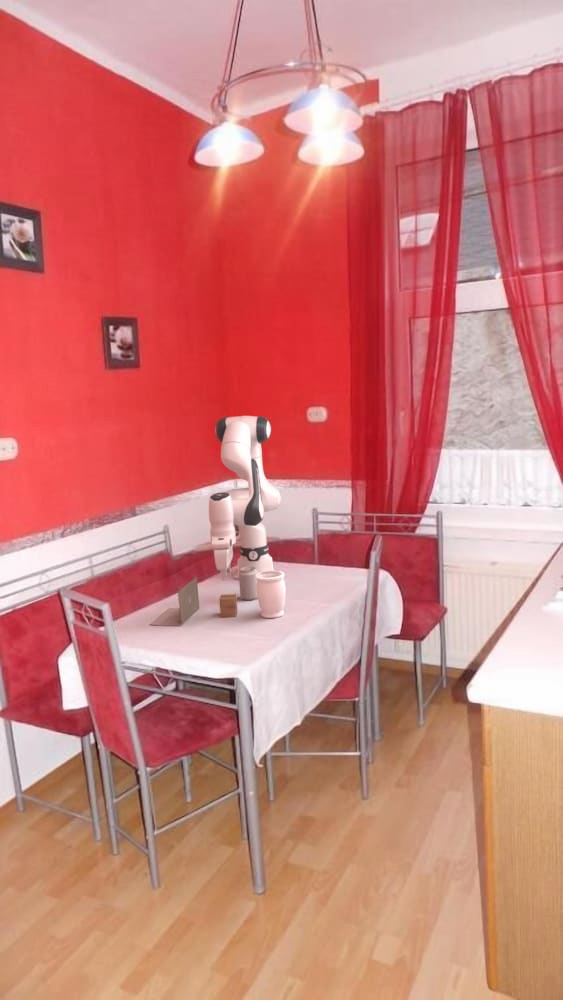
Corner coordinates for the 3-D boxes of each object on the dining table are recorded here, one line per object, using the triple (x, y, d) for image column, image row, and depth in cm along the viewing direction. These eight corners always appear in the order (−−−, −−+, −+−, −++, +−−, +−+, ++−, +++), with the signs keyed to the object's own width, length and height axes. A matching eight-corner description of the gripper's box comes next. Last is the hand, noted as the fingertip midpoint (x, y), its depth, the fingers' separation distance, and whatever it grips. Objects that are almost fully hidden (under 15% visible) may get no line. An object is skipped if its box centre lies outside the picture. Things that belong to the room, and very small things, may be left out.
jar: (284, 619, 251) (281, 578, 248) (255, 619, 253) (252, 578, 250) (289, 609, 261) (286, 570, 258) (261, 610, 263) (258, 570, 260)
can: (257, 601, 274) (255, 570, 272) (238, 601, 275) (236, 571, 273) (261, 595, 281) (259, 565, 279) (243, 595, 282) (241, 565, 280)
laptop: (169, 609, 271) (165, 576, 269) (200, 610, 268) (197, 576, 266) (149, 626, 254) (145, 590, 252) (182, 627, 251) (178, 591, 248)
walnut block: (222, 612, 262) (221, 594, 261) (237, 612, 262) (236, 593, 261) (220, 617, 257) (219, 599, 256) (235, 617, 257) (234, 598, 256)
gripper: (218, 533, 265) (221, 569, 267) (210, 545, 245) (213, 584, 247) (235, 532, 265) (238, 568, 267) (228, 544, 245) (231, 583, 247)
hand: (226, 576), depth 257 cm, fingers open, 8 cm apart
